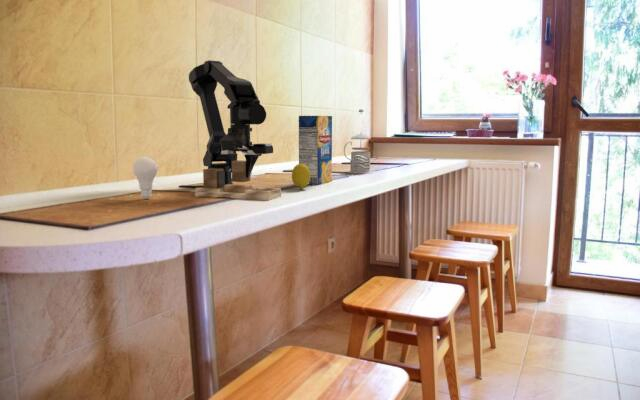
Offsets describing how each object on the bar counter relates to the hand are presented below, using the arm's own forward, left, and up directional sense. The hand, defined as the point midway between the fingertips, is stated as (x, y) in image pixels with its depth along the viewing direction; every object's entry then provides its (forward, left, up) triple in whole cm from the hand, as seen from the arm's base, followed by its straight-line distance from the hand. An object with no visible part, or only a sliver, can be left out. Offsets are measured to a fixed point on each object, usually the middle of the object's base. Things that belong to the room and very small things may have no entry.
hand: (241, 177), depth 162 cm
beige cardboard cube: (0, 0, -1) cm, 1 cm away
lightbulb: (-14, -26, -4) cm, 30 cm away
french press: (+17, +67, -4) cm, 69 cm away
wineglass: (-14, +34, -4) cm, 37 cm away
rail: (+6, -13, -4) cm, 15 cm away
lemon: (+16, +8, -4) cm, 18 cm away
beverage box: (+14, +26, -4) cm, 30 cm away
